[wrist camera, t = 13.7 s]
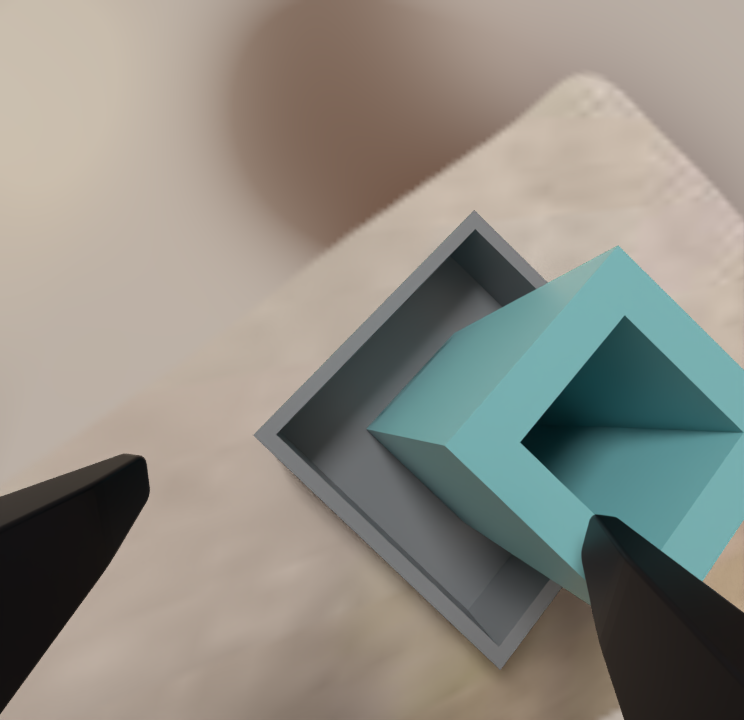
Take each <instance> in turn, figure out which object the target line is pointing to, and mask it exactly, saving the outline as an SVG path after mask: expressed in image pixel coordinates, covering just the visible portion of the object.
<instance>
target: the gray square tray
mask: <svg viewBox="0 0 744 720" xmlns="http://www.w3.org/2000/svg"><path fill="white" fill-rule="evenodd" d="M547 283H548V282H547V281H546V280H545V279H544V278H542V277H541V276H540V275H539V274H538V273H537V272H536V271H535V270H534V269H533V268H532V267H531V266H530V265H529V264H528V263H527V262H526V261H525V260H524V259H523V258H522V257H521V256H520V255H519V254H518V253H517V252H516V251H515V250H514V249H513V248H512V247H511V246H510V245H509V244H508V243H507V242H506V241H505V240H504V239H503V238H502V237H501V236H500V235H499V234H498V233H497V232H496V231H495V230H494V229H493V228H492V227H491V226H490V225H489V224H488V223H487V222H486V221H485V220H484V219H483V218H482V217H481V216H480V215H479V214H478V213H477V212H476V211H475V210H474V211H473V212H472V213H471V214H470V215H469V216H468V217H467V218H466V219H465V220H464V221H463V222H462V223H461V224H460V225H459V226H458V227H457V228H456V229H455V230H454V231H453V232H452V233H451V234H450V235H449V236H448V237H447V238H446V239H445V240H444V241H443V242H442V243H441V244H440V246H439V247H438V248H437V249H436V250H435V251H434V252H433V253H432V254H431V255H430V256H429V257H428V258H427V259H426V260H425V261H424V262H423V263H422V264H421V265H420V266H419V267H418V268H417V269H416V270H415V271H414V272H413V273H412V274H411V275H410V276H409V277H408V278H407V279H406V280H405V281H404V282H403V283H402V284H401V285H400V286H399V287H398V288H397V289H396V290H395V291H394V292H393V293H392V294H391V295H390V296H389V297H388V298H387V299H386V301H385V302H384V303H383V304H382V305H381V306H380V307H379V308H378V309H377V310H376V311H375V312H374V313H373V314H372V315H371V316H370V317H369V318H368V319H367V320H366V321H365V322H364V323H363V324H362V325H361V326H360V327H359V328H358V329H357V330H356V331H355V332H354V333H353V334H352V335H351V336H350V337H349V338H348V339H347V340H346V341H345V342H344V343H343V344H342V345H341V346H340V347H339V348H338V349H337V350H336V351H335V352H334V353H333V354H332V355H331V357H330V358H329V359H328V360H327V361H326V362H325V363H324V364H323V365H322V366H321V367H320V368H319V369H318V370H317V371H316V372H315V373H314V374H313V375H312V376H311V377H310V378H309V379H308V380H307V381H306V382H305V383H304V384H303V385H302V386H301V387H300V388H299V389H298V390H297V391H296V392H295V393H294V394H293V395H292V396H291V397H290V398H289V399H288V400H287V401H286V402H285V403H284V404H283V405H282V406H281V407H280V408H279V409H278V410H277V411H276V413H275V414H274V415H273V416H272V417H271V418H270V419H269V420H268V421H267V422H266V423H265V424H264V425H263V426H262V427H261V428H260V429H259V430H258V431H257V432H256V433H255V434H254V435H253V436H255V437H256V438H257V439H258V440H259V441H260V442H261V443H262V444H263V445H264V446H265V447H266V448H267V449H268V450H269V451H270V452H271V453H272V454H273V455H275V456H276V457H277V458H278V459H279V460H280V461H281V462H282V463H283V464H284V465H285V466H286V467H287V468H288V469H289V470H290V471H291V472H292V473H293V474H295V475H296V476H297V477H298V478H299V479H300V480H301V481H302V482H303V483H304V484H305V485H306V486H307V487H308V488H309V489H310V490H311V491H312V492H313V493H315V494H316V495H317V496H318V497H319V498H320V499H321V500H322V501H323V502H324V503H325V504H326V505H327V506H328V507H329V508H330V509H331V510H332V511H333V512H335V513H336V514H337V515H338V516H339V517H340V518H341V519H342V520H343V521H344V522H345V523H346V524H347V525H348V526H349V527H350V528H351V529H352V530H353V531H355V532H356V533H357V534H358V535H359V536H360V537H361V538H362V539H363V540H364V541H365V542H366V543H367V544H368V545H369V546H370V547H371V548H372V549H373V550H375V551H376V552H377V553H378V554H379V555H380V556H381V557H382V558H383V559H384V560H385V561H386V562H387V563H388V564H389V565H390V566H391V567H392V568H393V569H394V570H396V571H397V572H398V573H399V574H400V575H401V576H402V577H403V578H404V579H405V580H406V581H407V582H408V583H409V584H410V585H411V586H412V587H413V588H414V589H416V590H417V591H418V592H419V593H420V594H421V595H422V596H423V597H424V598H425V599H426V600H427V601H428V602H429V603H430V604H431V605H432V606H433V607H434V608H436V609H437V610H438V611H439V612H440V613H441V614H442V615H443V616H444V617H445V618H446V619H447V620H448V621H449V622H450V623H451V624H452V625H453V626H454V627H456V628H457V629H458V630H459V631H460V632H461V633H462V634H463V635H464V636H465V637H466V638H467V639H468V640H469V641H470V642H471V643H472V644H473V645H474V646H476V647H477V648H478V649H479V650H480V651H481V652H482V653H483V654H484V655H485V656H486V657H487V658H488V659H489V660H490V661H491V662H492V663H493V664H494V665H496V666H497V667H498V668H499V669H500V670H501V668H502V667H503V666H504V664H505V663H506V662H507V660H508V659H509V658H510V656H511V655H512V654H513V652H514V651H515V650H516V648H517V647H518V646H519V644H520V643H521V642H522V640H523V639H524V638H525V636H526V635H527V634H528V632H529V631H530V630H531V628H532V627H533V626H534V624H535V623H536V622H537V620H538V619H539V618H540V616H541V615H542V614H543V612H544V611H545V609H546V608H547V607H548V605H549V604H550V603H551V601H552V600H553V599H554V597H555V596H556V595H557V593H558V592H559V591H560V589H561V588H562V586H560V585H559V584H557V583H556V582H554V581H552V580H551V579H549V578H548V577H546V576H545V575H543V574H542V573H540V572H539V571H537V570H536V569H534V568H533V567H531V566H530V565H528V564H527V563H525V562H524V561H522V560H521V559H519V558H517V557H516V556H514V555H513V554H511V553H510V552H508V551H507V550H505V549H504V548H502V547H501V546H499V545H498V544H496V543H495V542H493V541H492V540H490V539H489V538H487V537H486V536H484V535H482V534H481V533H479V532H478V531H476V530H475V529H473V528H472V527H470V526H469V525H467V524H466V523H464V522H463V521H462V520H461V519H460V518H459V517H458V516H457V515H456V514H455V513H454V512H453V511H451V510H450V509H449V508H448V507H447V506H446V505H445V504H444V503H443V502H442V501H441V500H440V499H439V498H438V497H437V496H436V495H435V494H434V493H433V492H432V491H431V490H429V489H428V488H427V487H426V486H425V485H424V484H423V483H422V482H421V481H420V480H419V479H418V478H417V477H416V476H415V475H414V474H413V473H412V472H411V471H410V470H409V469H407V468H406V467H405V466H404V465H403V464H402V463H401V462H400V461H399V460H398V459H397V458H396V457H395V456H394V455H393V454H392V453H391V452H390V451H389V450H388V449H387V448H385V447H384V446H383V445H382V444H381V443H380V442H379V441H378V440H377V439H376V438H375V437H374V436H373V435H372V434H371V433H370V432H369V431H368V430H367V429H366V428H367V427H368V426H369V425H370V424H371V423H372V422H373V421H374V420H375V419H376V418H377V416H378V415H379V414H380V413H381V412H382V411H383V410H384V409H385V408H386V407H387V406H388V404H389V403H390V402H391V401H392V400H393V399H394V398H395V397H396V396H397V395H398V394H399V392H400V391H401V390H402V389H403V388H404V387H405V386H406V385H407V384H408V383H409V382H410V381H411V379H412V378H413V377H414V376H415V375H416V374H417V373H418V372H419V371H420V370H421V369H422V367H423V366H424V365H425V364H426V363H427V362H428V361H429V360H430V359H431V358H432V357H433V355H434V354H435V353H436V352H437V351H438V350H439V349H440V348H441V347H442V346H443V345H444V343H445V342H446V341H447V340H448V339H449V338H450V337H451V336H452V335H453V334H454V333H455V332H457V331H459V330H461V329H463V328H465V327H466V326H468V325H470V324H472V323H474V322H476V321H478V320H480V319H481V318H483V317H485V316H487V315H489V314H491V313H493V312H494V311H496V310H498V309H500V308H502V307H504V306H506V305H508V304H509V303H511V302H513V301H515V300H517V299H519V298H521V297H523V296H524V295H526V294H528V293H530V292H532V291H534V290H536V289H537V288H539V287H541V286H543V285H545V284H547Z"/></svg>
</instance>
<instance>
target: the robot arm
mask: <svg viewBox="0 0 744 720" xmlns="http://www.w3.org/2000/svg"><path fill="white" fill-rule="evenodd" d="M149 493H150V486H149V479H148V471H147V463H146V460H145V458H144V457H142V456H140V455H132V454H121V455H118V456H115V457H113V458H110V459H107V460H104V461H101V462H98V463H95V464H93V465H90V466H87V467H84V468H81V469H78V470H76V471H73V472H70V473H67V474H64V475H61V476H58V477H56V478H53V479H50V480H47V481H44V482H41V483H38V484H36V485H33V486H30V487H27V488H24V489H21V490H19V491H16V492H13V493H10V494H7V495H4V496H1V497H0V714H1V712H2V711H3V710H4V708H5V707H6V706H7V704H8V703H9V701H10V700H11V699H12V697H13V696H14V695H15V693H16V692H17V690H18V689H19V688H20V686H21V685H22V684H23V682H24V681H25V680H26V678H27V677H28V675H29V674H30V673H31V671H32V670H33V669H34V667H35V666H36V664H37V663H38V662H39V660H40V659H41V658H42V656H43V655H44V654H45V652H46V651H47V649H48V648H49V647H50V645H51V644H52V643H53V641H54V640H55V638H56V637H57V636H58V634H59V633H60V632H61V630H62V629H63V627H64V626H65V625H66V623H67V622H68V621H69V619H70V618H71V617H72V615H73V614H74V612H75V611H76V610H77V608H78V607H79V606H80V604H81V603H82V601H83V600H84V599H85V597H86V596H87V595H88V593H89V592H90V590H91V589H92V588H93V586H94V585H95V584H96V582H97V581H98V580H99V578H100V577H101V575H102V574H103V572H104V571H105V570H106V568H107V567H108V565H109V564H110V562H111V560H112V559H113V557H114V556H115V554H116V553H117V551H118V549H119V547H120V546H121V544H122V542H123V541H124V539H125V537H126V536H127V534H128V532H129V531H130V529H131V527H132V526H133V524H134V522H135V520H136V519H137V517H138V515H139V514H140V512H141V510H142V509H143V507H144V505H145V504H146V502H147V500H148V497H149ZM581 559H582V565H583V570H584V575H585V579H586V584H587V589H588V593H589V598H590V603H591V608H592V612H593V617H594V622H595V626H596V631H597V635H598V639H599V643H600V646H601V650H602V653H603V656H604V659H605V662H606V665H607V669H608V672H609V675H610V678H611V681H612V684H613V687H614V690H615V693H616V696H617V699H618V702H619V705H620V708H621V711H622V714H623V717H624V720H744V612H742V611H741V610H740V609H738V608H737V607H736V606H734V605H733V604H732V603H730V602H729V601H728V600H726V599H725V598H724V597H722V596H721V595H720V594H718V593H717V592H716V591H714V590H713V589H712V588H710V587H709V586H708V585H706V584H705V583H704V582H702V581H701V580H700V579H698V578H697V577H696V576H694V575H693V574H692V573H690V572H689V571H688V570H686V569H685V568H684V567H682V566H681V565H680V564H678V563H677V562H676V561H674V560H673V559H672V558H670V557H669V556H668V555H666V554H665V553H664V552H662V551H661V550H660V549H658V548H657V547H656V546H654V545H653V544H652V543H650V542H649V541H648V540H646V539H645V538H644V537H642V536H641V535H640V534H638V533H637V532H636V531H634V530H633V529H632V528H630V527H629V526H628V525H626V524H625V523H624V522H622V521H621V520H620V519H618V518H617V517H614V516H607V515H599V514H595V515H593V516H592V517H591V518H590V520H589V523H588V527H587V531H586V534H585V538H584V542H583V546H582V551H581Z"/></svg>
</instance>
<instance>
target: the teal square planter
mask: <svg viewBox="0 0 744 720" xmlns="http://www.w3.org/2000/svg"><path fill="white" fill-rule="evenodd" d="M366 429H367V430H368V431H369V432H370V433H371V434H372V435H373V436H374V437H375V438H376V439H377V440H378V441H379V442H380V443H381V444H382V445H383V446H384V447H385V448H387V449H388V450H389V451H390V452H391V453H392V454H393V455H394V456H395V457H396V458H397V459H398V460H399V461H400V462H401V463H402V464H403V465H404V466H405V467H406V468H407V469H409V470H410V471H411V472H412V473H413V474H414V475H415V476H416V477H417V478H418V479H419V480H420V481H421V482H422V483H423V484H424V485H425V486H426V487H427V488H428V489H429V490H431V491H432V492H433V493H434V494H435V495H436V496H437V497H438V498H439V499H440V500H441V501H442V502H443V503H444V504H445V505H446V506H447V507H448V508H449V509H450V510H451V511H453V512H454V513H455V514H456V515H457V516H458V517H459V518H460V519H461V520H462V521H463V522H464V523H466V524H467V525H469V526H470V527H472V528H473V529H475V530H476V531H478V532H479V533H481V534H482V535H484V536H486V537H487V538H489V539H490V540H492V541H493V542H495V543H496V544H498V545H499V546H501V547H502V548H504V549H505V550H507V551H508V552H510V553H511V554H513V555H514V556H516V557H517V558H519V559H521V560H522V561H524V562H525V563H527V564H528V565H530V566H531V567H533V568H534V569H536V570H537V571H539V572H540V573H542V574H543V575H545V576H546V577H548V578H549V579H551V580H552V581H554V582H556V583H557V584H559V585H560V586H562V587H563V588H565V589H566V590H568V591H569V592H571V593H572V594H574V595H575V596H577V597H578V598H580V599H581V600H583V601H584V602H586V603H587V604H589V605H591V603H590V598H589V593H588V589H587V584H586V579H585V575H584V570H583V565H582V559H581V551H582V546H583V542H584V538H585V534H586V531H587V527H588V523H589V520H590V518H591V517H592V516H593V515H595V514H599V515H607V516H614V517H617V518H618V519H620V520H621V521H622V522H624V523H625V524H626V525H628V526H629V527H630V528H632V529H633V530H634V531H636V532H637V533H638V534H640V535H641V536H642V537H644V538H645V539H646V540H648V541H649V542H650V543H652V544H653V545H654V546H656V547H657V548H658V549H660V550H661V551H662V552H664V553H665V554H666V555H668V556H669V557H670V558H672V559H673V560H674V561H676V562H677V563H678V564H680V565H681V566H682V567H684V568H685V569H686V570H688V571H689V572H690V573H692V574H693V575H694V576H696V577H697V578H698V579H700V580H701V581H703V580H704V578H705V577H706V575H707V574H708V572H709V571H710V569H711V568H712V566H713V565H714V563H715V562H716V560H717V559H718V557H719V556H720V554H721V553H722V551H723V550H724V548H725V547H726V545H727V544H728V542H729V541H730V539H731V538H732V536H733V535H734V533H735V532H736V530H737V529H738V527H739V526H740V524H741V523H742V521H743V520H744V370H743V369H742V368H741V367H740V366H739V365H738V364H737V363H736V362H735V361H734V360H733V359H732V358H731V357H730V356H729V355H728V354H727V353H726V352H725V351H724V350H723V349H722V348H721V347H720V346H719V345H718V344H717V343H716V342H715V341H714V340H713V339H712V338H711V337H710V336H709V335H708V334H707V333H706V332H705V331H704V330H703V329H702V328H701V327H700V326H699V325H698V324H697V323H696V322H695V321H694V320H693V319H692V318H691V317H690V316H689V315H688V314H687V313H686V312H685V311H684V310H683V309H682V308H681V307H680V306H679V305H678V304H677V303H676V302H675V301H674V300H673V299H672V298H671V297H670V296H669V295H668V294H667V293H666V292H665V291H664V290H663V289H661V288H660V287H659V286H658V285H657V284H656V283H655V282H654V281H653V280H652V279H651V278H650V277H649V276H648V275H647V274H646V273H645V272H644V271H643V270H642V269H641V268H640V267H639V266H638V265H637V264H636V263H635V262H634V261H633V260H632V259H631V258H630V257H629V256H628V255H627V254H626V253H625V252H624V251H623V250H622V249H621V248H620V247H619V246H616V247H614V248H612V249H610V250H609V251H607V252H605V253H603V254H601V255H599V256H597V257H595V258H594V259H592V260H590V261H588V262H586V263H584V264H582V265H580V266H579V267H577V268H575V269H573V270H571V271H569V272H567V273H566V274H564V275H562V276H560V277H558V278H556V279H554V280H552V281H551V282H549V283H547V284H545V285H543V286H541V287H539V288H537V289H536V290H534V291H532V292H530V293H528V294H526V295H524V296H523V297H521V298H519V299H517V300H515V301H513V302H511V303H509V304H508V305H506V306H504V307H502V308H500V309H498V310H496V311H494V312H493V313H491V314H489V315H487V316H485V317H483V318H481V319H480V320H478V321H476V322H474V323H472V324H470V325H468V326H466V327H465V328H463V329H461V330H459V331H457V332H455V333H454V334H453V335H452V336H451V337H450V338H449V339H448V340H447V341H446V342H445V343H444V345H443V346H442V347H441V348H440V349H439V350H438V351H437V352H436V353H435V354H434V355H433V357H432V358H431V359H430V360H429V361H428V362H427V363H426V364H425V365H424V366H423V367H422V369H421V370H420V371H419V372H418V373H417V374H416V375H415V376H414V377H413V378H412V379H411V381H410V382H409V383H408V384H407V385H406V386H405V387H404V388H403V389H402V390H401V391H400V392H399V394H398V395H397V396H396V397H395V398H394V399H393V400H392V401H391V402H390V403H389V404H388V406H387V407H386V408H385V409H384V410H383V411H382V412H381V413H380V414H379V415H378V416H377V418H376V419H375V420H374V421H373V422H372V423H371V424H370V425H369V426H368V427H367V428H366Z"/></svg>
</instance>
